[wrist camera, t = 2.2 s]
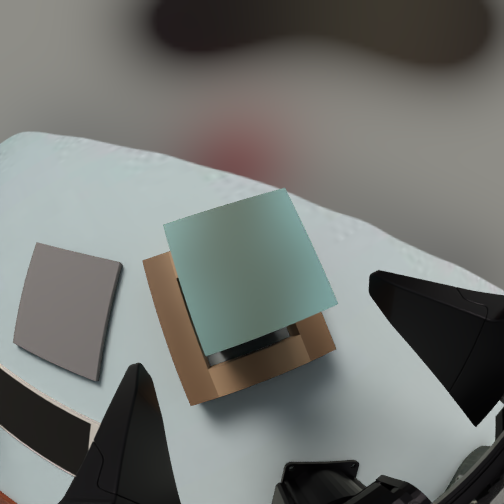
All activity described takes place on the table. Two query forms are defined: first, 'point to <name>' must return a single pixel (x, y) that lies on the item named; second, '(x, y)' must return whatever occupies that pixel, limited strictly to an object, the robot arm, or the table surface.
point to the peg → (247, 270)
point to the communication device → (468, 465)
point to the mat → (67, 308)
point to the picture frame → (5, 499)
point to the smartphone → (44, 423)
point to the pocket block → (237, 369)
